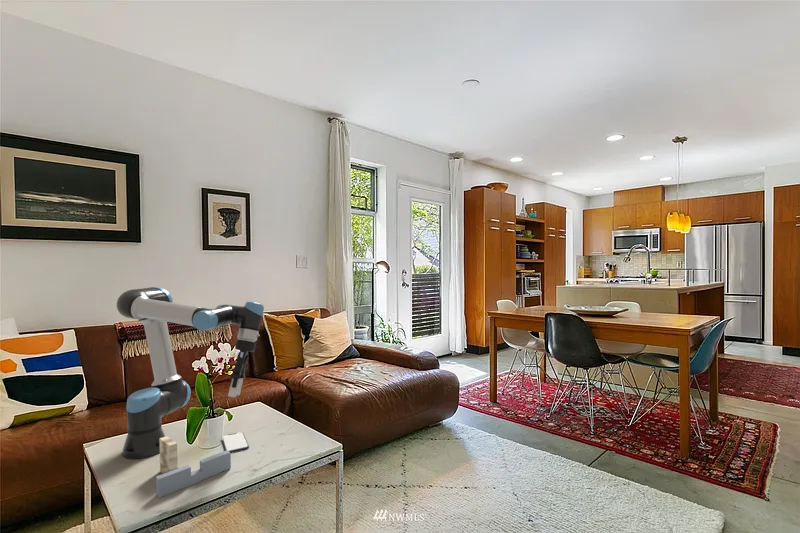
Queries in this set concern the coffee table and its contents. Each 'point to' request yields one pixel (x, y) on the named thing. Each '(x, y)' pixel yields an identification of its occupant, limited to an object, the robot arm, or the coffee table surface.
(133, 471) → the coffee table surface
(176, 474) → the grey rail
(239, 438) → the phone case
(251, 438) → the coffee table surface
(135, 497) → the coffee table surface
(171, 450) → the wooden arch block
